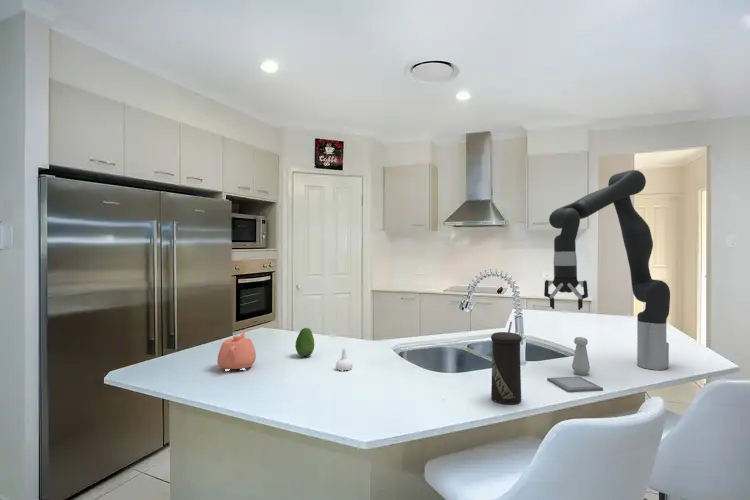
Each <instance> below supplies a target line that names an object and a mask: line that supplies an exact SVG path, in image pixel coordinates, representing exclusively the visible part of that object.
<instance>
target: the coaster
mask: <svg viewBox="0 0 750 500" xmlns="http://www.w3.org/2000/svg"><path fill="white" fill-rule="evenodd" d="M546 381H547V382H549V383H551V384H553V385H555V386H557V387H558V388H560V389H561V390H563V391H564V392H567V393H581V392H600V391H604V388H603V387H602V386H600V385H598V384H596V383H593V382H592V381H590V380H588V379H586V378H583V377H582V376H581V375H576V376H561V377H558V376H557V377H547V378H546Z"/></svg>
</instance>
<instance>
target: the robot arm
mask: <svg viewBox="0 0 750 500" xmlns="http://www.w3.org/2000/svg"><path fill="white" fill-rule="evenodd" d="M646 183H647V181H646V177H645V175H644V174H643V172H642V171H640V170H635V169H632V170H630V169H629V170H626V171H622V172H619V173H614V174H613V175H611V176H610V178H609V179H608V184H607V185H608V186H606V187H603V188H601V189H598V190H596V191H592V192H591V193H589V194H587V195H585V196H583V197H581V198H578V199H577V200H575V201H574V202H572V203H568V204H566V205H564V206H561V207H559V208H556V209H555V210H553V211H552V212H551V214H550V215H549V216H548V217H549V219H548V222H549V224H550V226H551V227H553V228H555V229H561V231H560V234H558V235H556V236H555V237H554V240H553V246H554V248H553V251H554V254H553V280H549V279H545V281H544V293H543V295H544V297H545V298H548V299H549V306H550V307H549V308H551V309H552V310H555V297H556V295H557V294H558V293H559V292H560V293H568V294H569V293H573V294H574V295H575V297H577V310H578V311H581V309H583V308H584V307H583V300H584V299H587V298H589V293H588V282H587V280H585V279H583V280H578V259H577V254H576V253H577V251H576V249H577V247H576V239H577V236H578V233H579V232H578V231H579V229H580V228H579V227H580V223H581V220H582V219H583V220H584V219H585V218H588V217H590V216H592V215H593V214H595V213H597V212H599V211H600V210H602V209H604V208H606V207H607V206H608V207H609V206H610V205H611V204H613V206H614V209H615V212H616V215H617V219H618V223H619V227H620V230H621V235H622V240H623V245H624V248H625V252H626V256H627V263H628V265H629V270H630V271H629V272H630V278H631V279H630V280H631V282H630V283H631V288H632V289H631V290H632V294H633V295H634V298H635V299H636V301H639V302H641V303H645V306H644V310H643V311H640V312H638V313H637V320H636V321H637V322H636V323H637V325H636V326H637V327H636V328H637V329H636V330H637V333H636V334H637V338H636V340H637V342H636V346H637V347H636V350H637V351H636V352H637V353H636V354H637V355H636V356H637V357H636V362H637V363H636V365H637V366H638V367H640V368H643V369H647V370H652V371H653V370H656V371H663V370H667V369H669V368H670V367H669V366H670V365H669V363H670V360H669V359H670V358H669V357H670V352H669V351H670V348H669V347H670V346H669V345H670V343H669V342H667V320H668V317H669V315H670V303H671V291H670V290H671V289H670V287H669V285H668V283H666V282H665V281H664V280H659V279H653V278H652V276H651V271H650V264H649V263H650V259H651V256H652V251H653V247H654V241H653V237H652V233H651V229H650V226H649V224H648V223H647V221H645V219H644V218H643V217H642V216H641V215H640V214H639V212H637V211H636V209H635V207H634V205H633V202H632V198H631V196H634V195H638V194H639V193H640V192H641V193H642V191H643V190H644V189H645V187H646ZM552 284H553V286H554V287H555V289H554V290H553V291H552V293H549V289H550V288H549V287H551V286H552ZM578 285H580V287H582V288H583V294H581V293H580V292H579V290H578V289H577V287H578Z"/></svg>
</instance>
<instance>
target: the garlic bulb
mask: <svg viewBox="0 0 750 500" xmlns="http://www.w3.org/2000/svg"><path fill="white" fill-rule="evenodd" d="M353 365H354V364H353V362H352V361H351V359H349V358H348V356H347V351H346V348H342V351H341V358H340V359H338V361H336V363H335V369H336V370H337V369H338V370H337V371H339V370H349V371H351V370H352V369H353ZM350 369H351V370H350Z"/></svg>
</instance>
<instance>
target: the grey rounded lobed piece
mask: <svg viewBox="0 0 750 500" xmlns="http://www.w3.org/2000/svg"><path fill="white" fill-rule="evenodd" d="M573 343H574V344H575V350H574V355H573V360H572V363H571V369H572V370H573V372H574V374H575V375H576V376H587V375H588V374H589V372H590V370H591V366H590V361H589V357H588V356H589V355H588V350H587V345H588V339H587V338H585V337H582V336H577V337H576V336H575V338H574V340H573Z"/></svg>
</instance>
